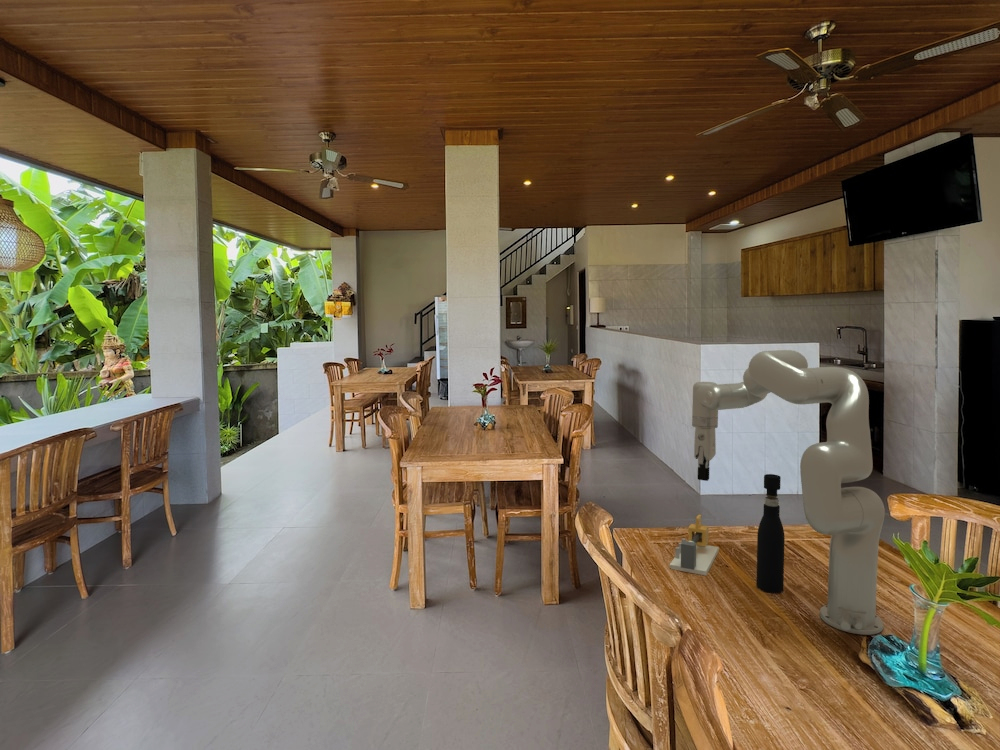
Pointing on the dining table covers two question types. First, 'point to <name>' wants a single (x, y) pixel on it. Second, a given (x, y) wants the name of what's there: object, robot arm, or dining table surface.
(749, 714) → the dining table surface
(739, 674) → the dining table surface
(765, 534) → the black water bottle
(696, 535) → the linear slide rail
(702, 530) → the sleeve
